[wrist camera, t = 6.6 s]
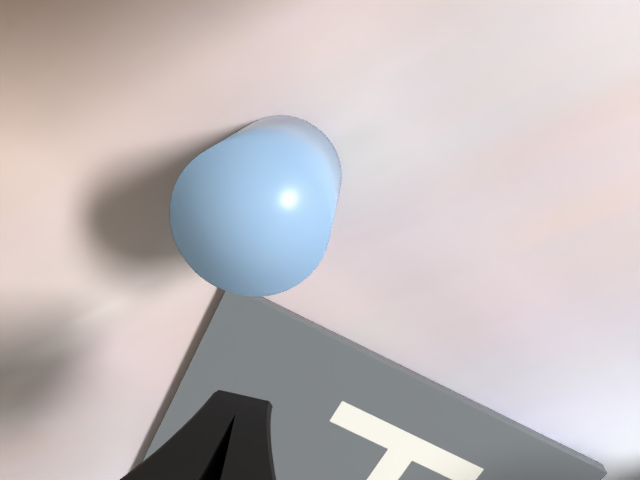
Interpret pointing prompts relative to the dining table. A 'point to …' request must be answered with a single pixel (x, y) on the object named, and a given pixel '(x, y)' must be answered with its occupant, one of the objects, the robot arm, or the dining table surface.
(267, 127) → the blue capsule
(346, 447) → the letter board
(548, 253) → the dining table surface
